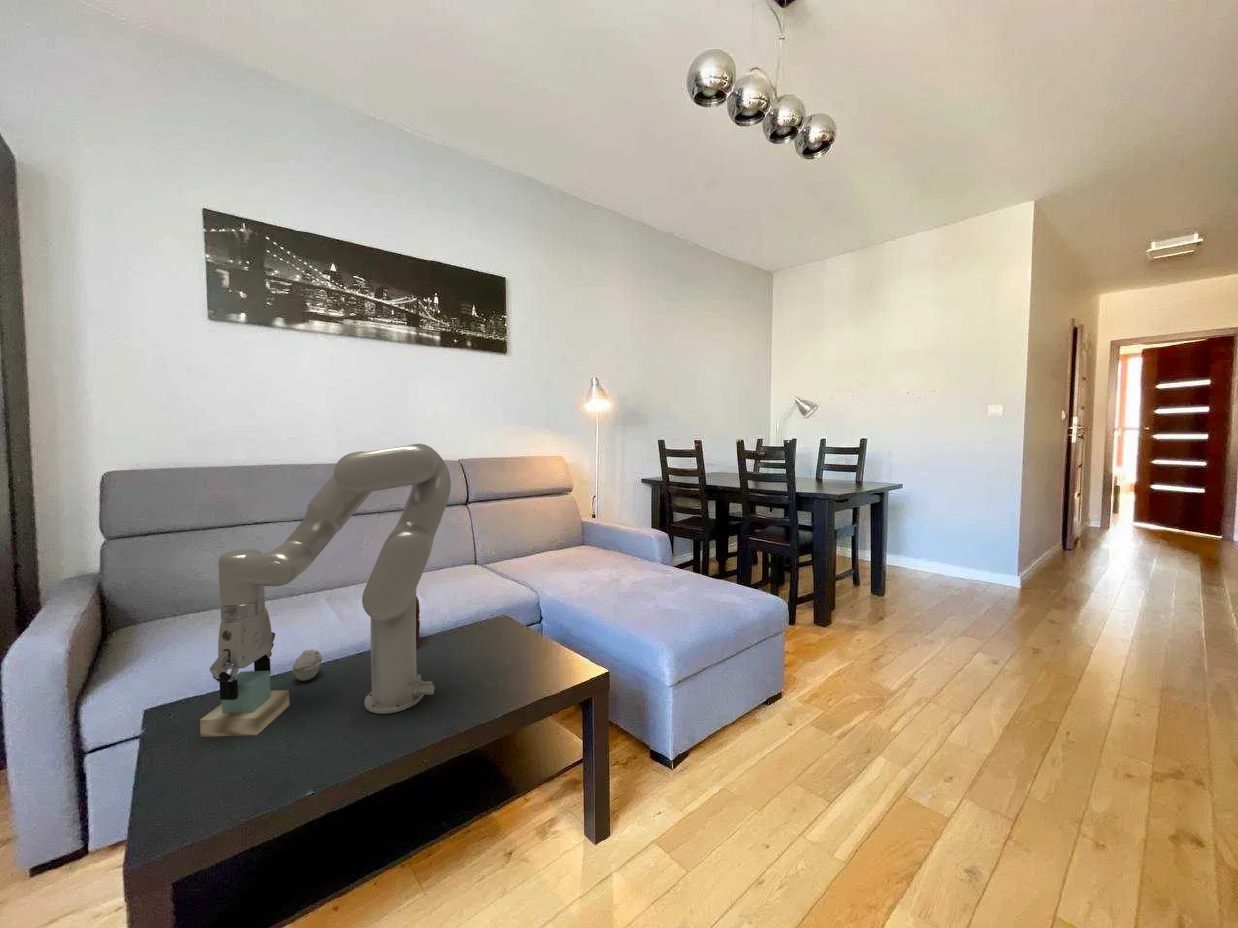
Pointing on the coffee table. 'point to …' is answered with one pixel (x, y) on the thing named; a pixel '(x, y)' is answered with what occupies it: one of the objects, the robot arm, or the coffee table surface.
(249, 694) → the teal cube
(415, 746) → the coffee table surface
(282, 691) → the birch block
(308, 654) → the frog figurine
